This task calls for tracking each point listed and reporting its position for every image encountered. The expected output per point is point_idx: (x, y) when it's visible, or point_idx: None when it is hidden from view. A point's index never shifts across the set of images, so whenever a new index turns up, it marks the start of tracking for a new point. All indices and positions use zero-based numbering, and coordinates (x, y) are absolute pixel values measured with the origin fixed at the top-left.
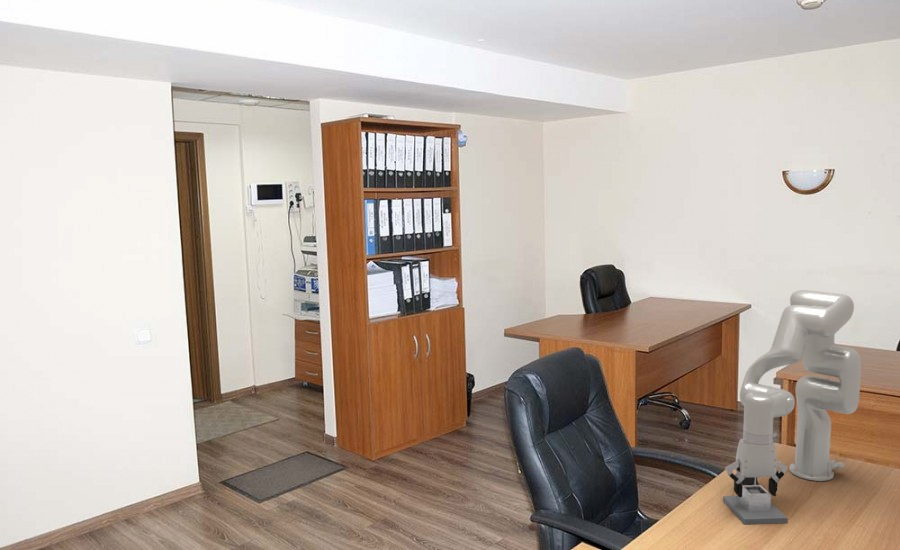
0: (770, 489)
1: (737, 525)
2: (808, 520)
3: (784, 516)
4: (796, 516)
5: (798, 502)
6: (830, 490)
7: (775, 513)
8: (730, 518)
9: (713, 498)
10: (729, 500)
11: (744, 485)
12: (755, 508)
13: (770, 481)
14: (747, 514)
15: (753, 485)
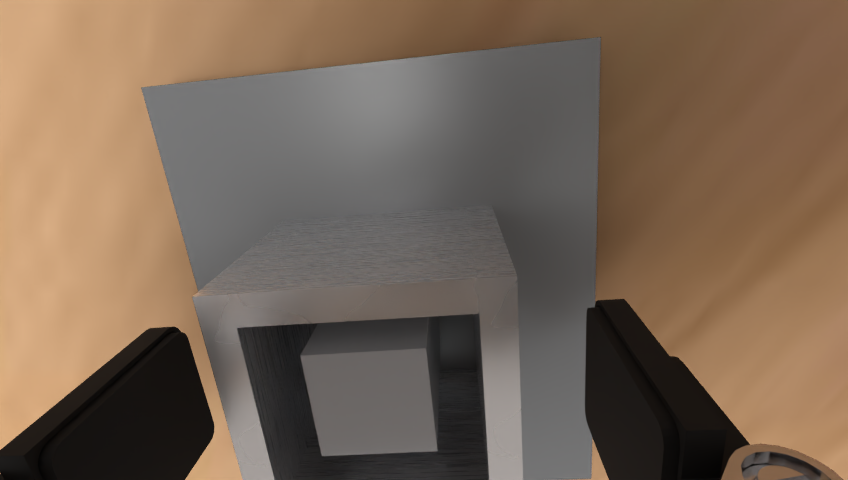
0: (601, 385)
1: (222, 466)
2: (765, 410)
3: (577, 458)
4: (712, 354)
5: None
6: None
7: (529, 414)
8: None
9: (92, 28)
10: (194, 191)
11: (257, 294)
12: None
13: (651, 470)
14: None
15: (394, 293)
